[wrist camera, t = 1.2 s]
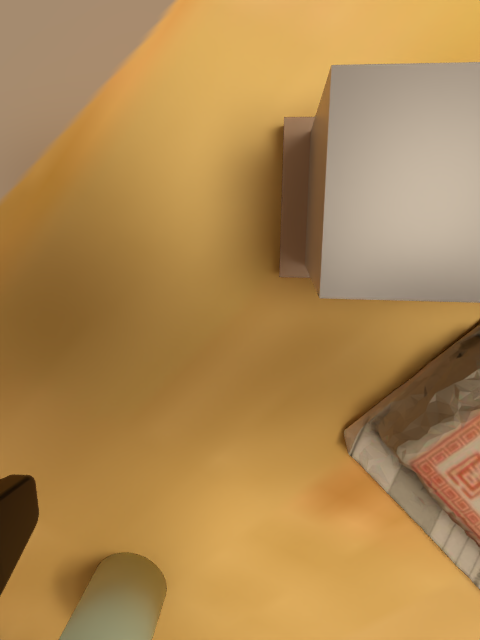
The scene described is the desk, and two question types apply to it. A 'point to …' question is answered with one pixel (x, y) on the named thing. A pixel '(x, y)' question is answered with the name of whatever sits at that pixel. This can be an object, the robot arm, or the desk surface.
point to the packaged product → (431, 450)
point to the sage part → (119, 601)
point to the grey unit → (386, 185)
